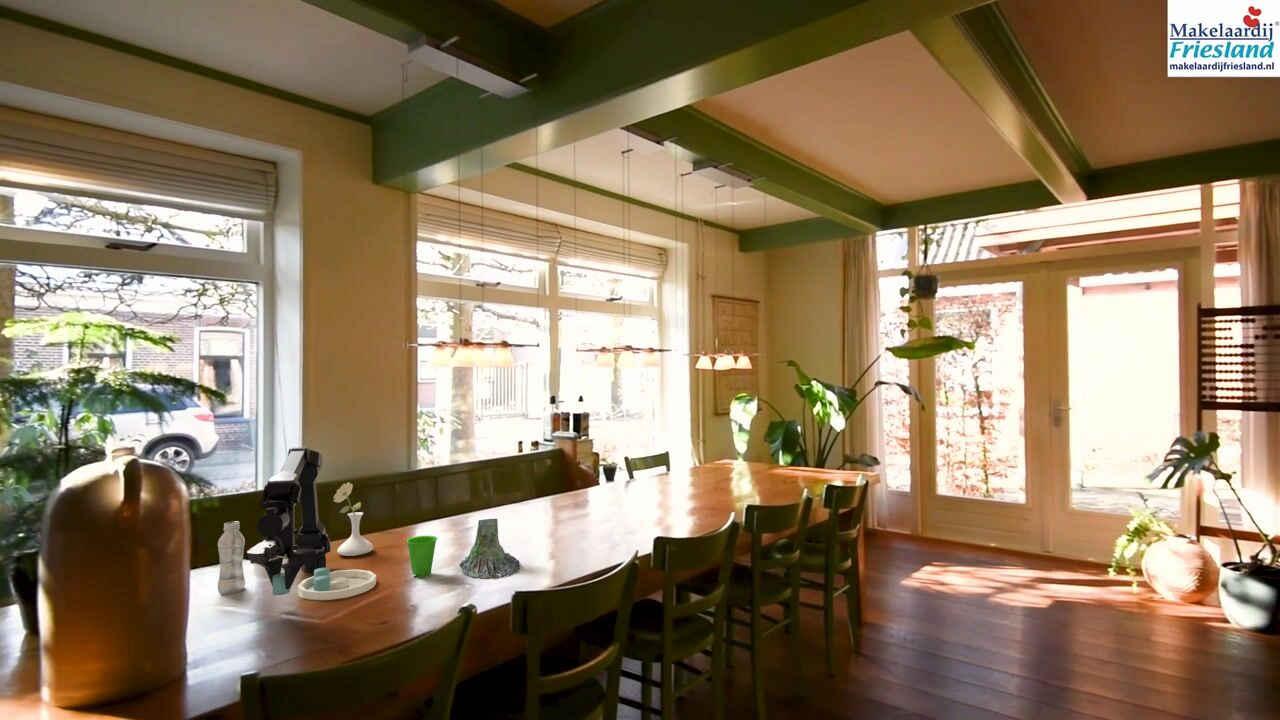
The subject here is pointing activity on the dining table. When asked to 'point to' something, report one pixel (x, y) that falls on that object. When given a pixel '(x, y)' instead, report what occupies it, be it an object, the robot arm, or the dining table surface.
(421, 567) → the cup
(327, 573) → the bead seated
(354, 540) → the flower in vase
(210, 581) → the dining table surface
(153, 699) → the dining table surface
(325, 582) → the bead
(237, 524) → the plastic bottle
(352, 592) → the groove tray
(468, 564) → the tree stump
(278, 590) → the bead
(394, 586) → the dining table surface
